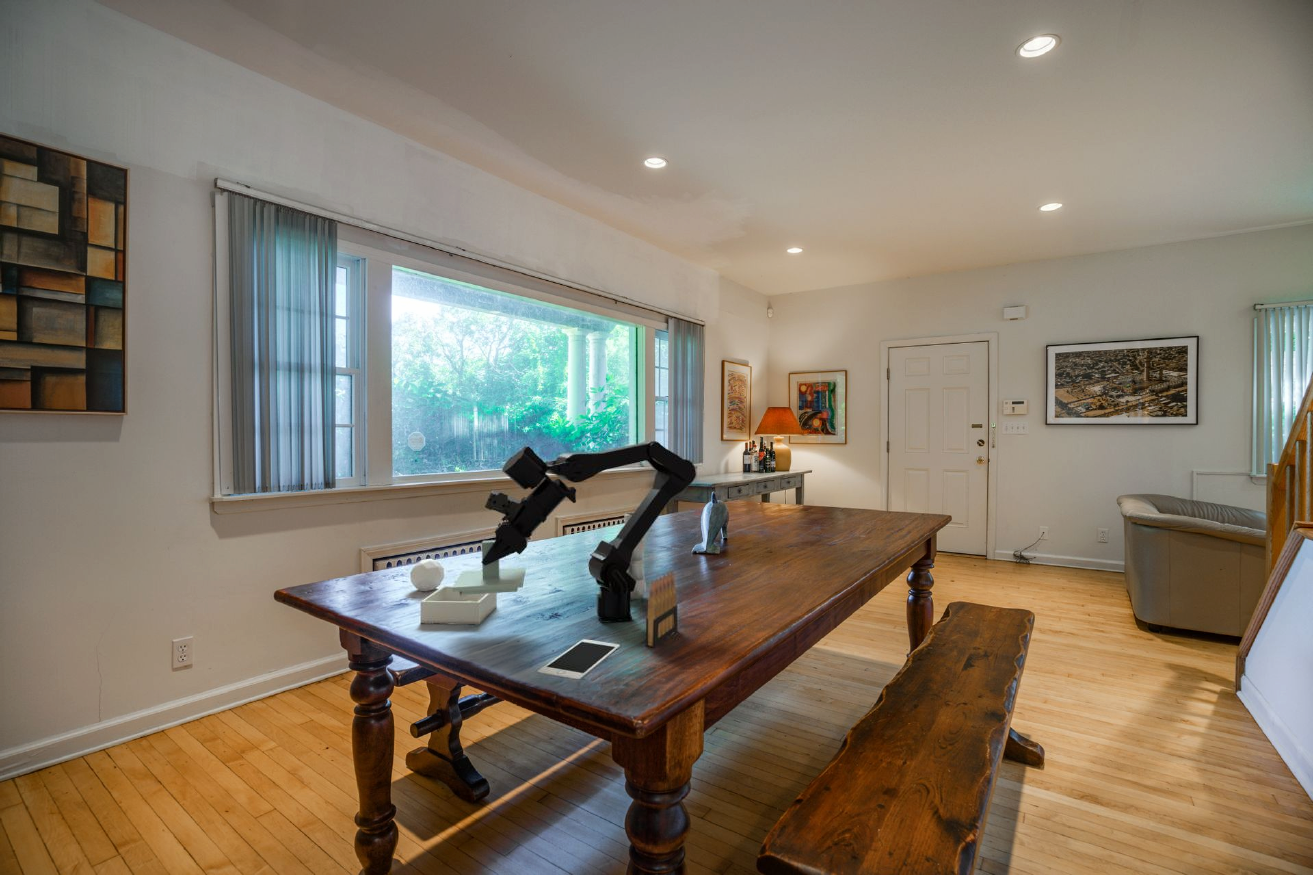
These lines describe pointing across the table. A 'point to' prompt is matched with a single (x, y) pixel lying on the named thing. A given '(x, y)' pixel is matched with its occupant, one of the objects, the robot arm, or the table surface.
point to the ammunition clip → (661, 610)
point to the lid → (489, 578)
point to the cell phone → (579, 659)
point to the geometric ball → (427, 575)
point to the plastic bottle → (637, 566)
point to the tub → (457, 607)
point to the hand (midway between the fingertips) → (483, 562)
